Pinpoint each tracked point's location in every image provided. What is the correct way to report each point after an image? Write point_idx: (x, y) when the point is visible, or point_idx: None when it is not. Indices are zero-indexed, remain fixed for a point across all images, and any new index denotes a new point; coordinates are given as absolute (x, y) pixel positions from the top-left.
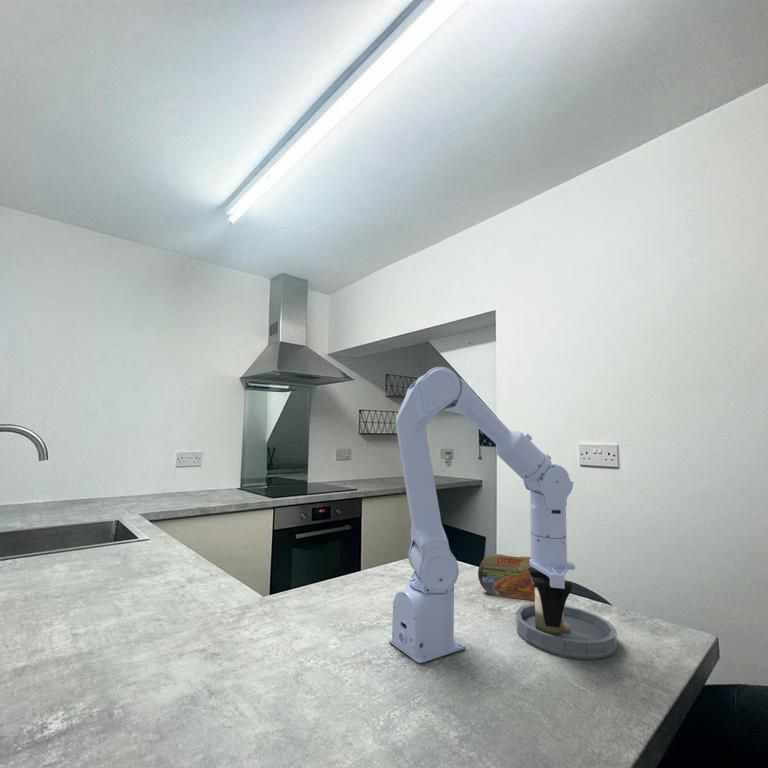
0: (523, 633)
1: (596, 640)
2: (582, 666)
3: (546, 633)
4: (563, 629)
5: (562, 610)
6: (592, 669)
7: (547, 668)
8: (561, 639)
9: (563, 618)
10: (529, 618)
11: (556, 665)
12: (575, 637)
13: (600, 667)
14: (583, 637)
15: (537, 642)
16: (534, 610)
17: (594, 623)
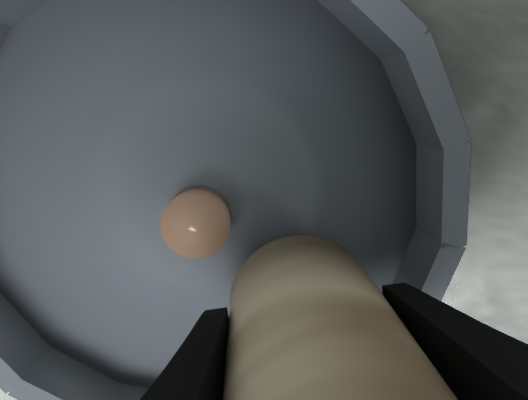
0: None
1: (419, 75)
2: (475, 156)
3: None
4: (327, 244)
5: (505, 336)
6: (492, 118)
7: (518, 281)
8: (457, 260)
9: (335, 270)
10: (129, 364)
11: (489, 251)
12: (268, 168)
13: (466, 80)
14: (250, 126)
15: None
16: (40, 358)
17: (5, 28)
